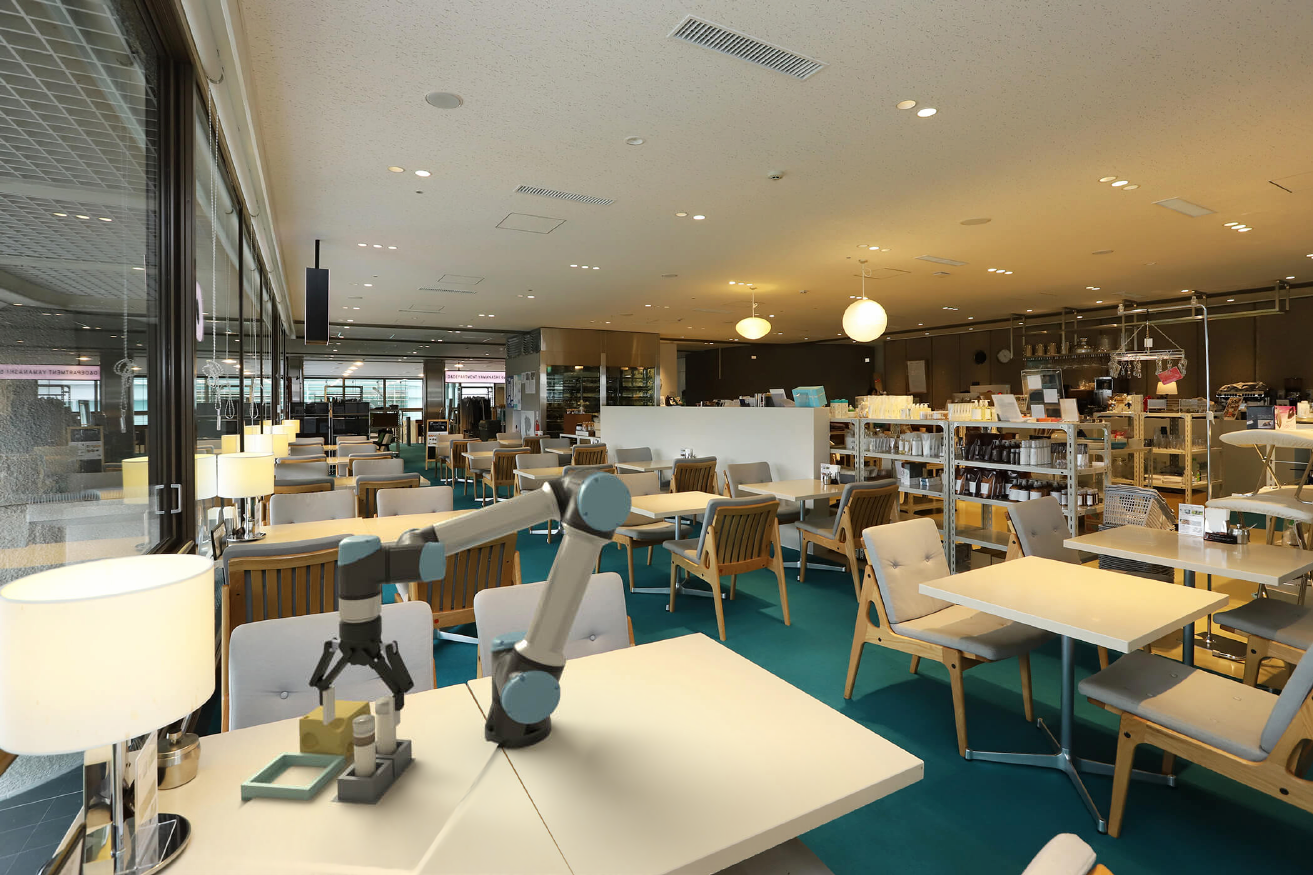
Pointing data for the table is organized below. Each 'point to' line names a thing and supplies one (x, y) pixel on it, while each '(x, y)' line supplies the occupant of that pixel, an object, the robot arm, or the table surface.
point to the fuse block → (377, 763)
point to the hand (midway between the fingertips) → (362, 723)
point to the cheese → (331, 729)
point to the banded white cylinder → (364, 746)
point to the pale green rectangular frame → (276, 767)
